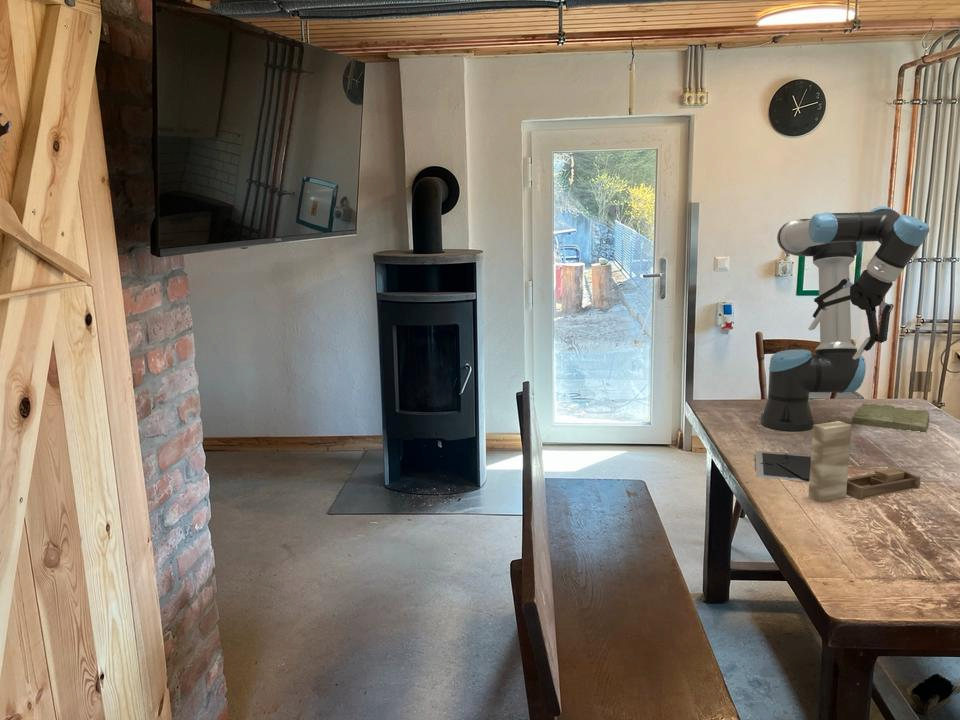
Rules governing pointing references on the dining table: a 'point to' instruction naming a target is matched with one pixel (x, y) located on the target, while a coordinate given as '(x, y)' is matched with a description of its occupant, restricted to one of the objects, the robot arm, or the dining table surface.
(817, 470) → the tall grained pillar
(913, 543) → the dining table surface
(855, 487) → the tray
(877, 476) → the oak offcut
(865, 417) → the decorative tile
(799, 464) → the picture frame
